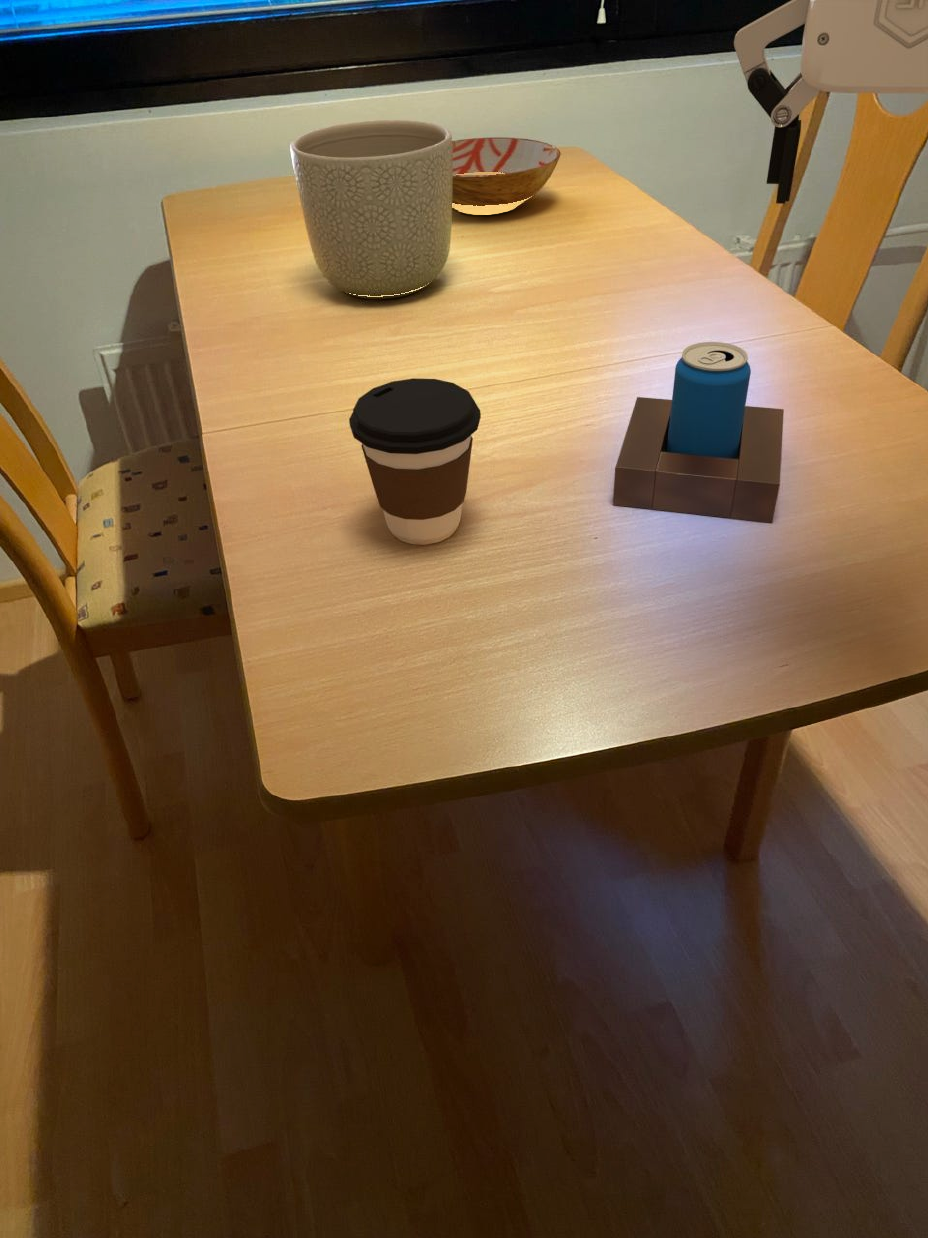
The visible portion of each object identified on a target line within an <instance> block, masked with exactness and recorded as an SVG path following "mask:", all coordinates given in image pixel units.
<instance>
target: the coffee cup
mask: <svg viewBox="0 0 928 1238" xmlns="http://www.w3.org/2000/svg"><path fill="white" fill-rule="evenodd" d="M481 418H482V415H481V409H480V408H479V406H478V404H477V402H476V400H475V399H474V398H473V396H472V394H471V392H470V391H469V390H467V389H465V388H463V387H462V386H459V385H458V384H456V383H455V382H452V381H446V380H441V379H437V378H416V377H415V378H407V379H399V380H394V381H390V382H386V383H384V384H381V385H378V386H376V387H373V388H372V389H370V390H368V391H367V392H366V393H364V394H363V395H361V396H360V397H358V399H357V401H356V402H355V405H354V407H353V408H352V413H351V415H350V416H349V419H348V421H349V423H348V424H349V429H350V431H351V433H352V437H353V438H354V439H355V440H356V441H358V442H359V443H361V446H360V447H361V449H362V453H363V456H364V459H365V463H366V466H367V469H368V473H369V477H370V480H371V483H372V487H373V489H374V492H375V496H376V499H377V502H378V504H379V507H380V509H382V512H383V516H384V519H385V522H386V525H387V528H388V530H389V531H390V532H391V534H392V535H393V536H394V537H396V538H397V539H398V540H399V541H401V542H404V543H407V544H411V545H420V546H421V545H422V546H426V545H432V544H437V543H440V542H442V541H444V540H447V539H449V538H450V537H451V536H452V535H453V534H454V533H455V532H456V531H457V529H458V527H459V525H460V523H461V518H462V512H463V505H464V502H465V498H466V494H467V489H468V480H469V473H470V466H471V465H470V464H471V459H472V458H471V457H472V448H473V442H474V439H473V436H472V435H473V434H475V432H477V431H478V429H479V425H480V421H481Z"/></svg>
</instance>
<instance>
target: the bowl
mask: <svg viewBox="0 0 928 1238" xmlns="http://www.w3.org/2000/svg"><path fill="white" fill-rule="evenodd" d="M561 155H562V152H561V151H560V149H559V148H558V147H556V146H555V145H552V144H550V143H548V142H543V141H540V140H536V139H529V138H520V137H506V136H505V137H503V136H501V137H500V136H498V137H497V136H496V137H475V138H465V139H464V138H463V139H457V140H452V158H453V190H452V203H455V204H461V205H473V206H476V205H477V206H485V205H499V204H508V203H513V202H517V201H521V200H524V199H527V198H529V197H531V196H533V195H534V196H536V195H537V194H538V193H539V191H540V190H541V189H542V188H543V187H544V186H545V185H546V183H547V182H548V181H549V179H550V178H551V176H552V175H553V173H554V171H555V169H556V167H557V165H558V162H559V160H560V157H561ZM474 172H501V173H502V172H503V173H505V174H496V175H456V174H464V173H474ZM537 192H538V193H537ZM536 193H537V194H536ZM534 196H533V197H534Z"/></svg>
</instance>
